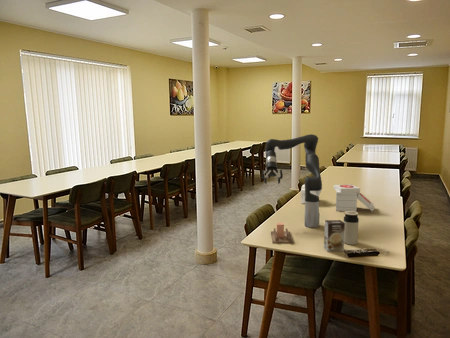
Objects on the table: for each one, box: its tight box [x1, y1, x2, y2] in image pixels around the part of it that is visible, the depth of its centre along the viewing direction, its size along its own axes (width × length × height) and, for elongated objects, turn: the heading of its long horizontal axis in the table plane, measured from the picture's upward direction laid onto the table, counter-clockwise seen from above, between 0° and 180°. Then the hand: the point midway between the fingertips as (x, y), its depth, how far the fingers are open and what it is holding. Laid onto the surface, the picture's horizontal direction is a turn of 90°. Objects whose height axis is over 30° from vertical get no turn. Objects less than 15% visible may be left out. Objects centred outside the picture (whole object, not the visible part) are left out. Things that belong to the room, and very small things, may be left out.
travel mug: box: [343, 211, 360, 246], centre depth 200 cm, size 8×8×18 cm
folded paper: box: [300, 183, 323, 205], centre depth 296 cm, size 17×24×17 cm
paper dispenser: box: [333, 184, 376, 213], centre depth 269 cm, size 19×30×18 cm, turn 73°
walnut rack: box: [270, 228, 294, 244], centre depth 211 cm, size 12×18×3 cm, turn 176°
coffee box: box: [323, 219, 345, 253], centre depth 190 cm, size 9×6×16 cm
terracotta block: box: [276, 222, 285, 238], centre depth 210 cm, size 4×4×8 cm
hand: (272, 183), depth 233 cm, fingers open, 8 cm apart
